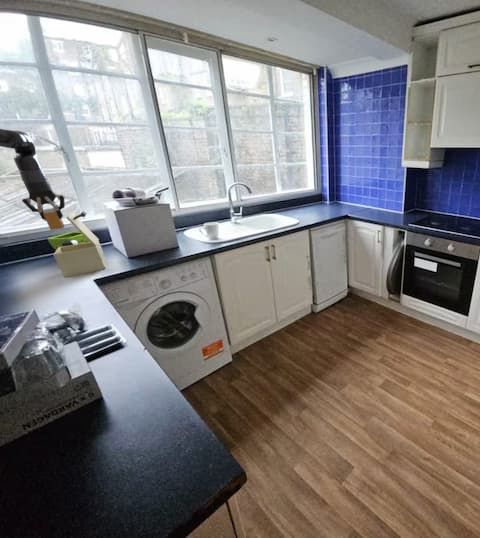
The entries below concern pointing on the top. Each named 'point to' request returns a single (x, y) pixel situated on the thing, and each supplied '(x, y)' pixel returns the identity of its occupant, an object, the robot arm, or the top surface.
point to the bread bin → (80, 259)
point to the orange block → (53, 219)
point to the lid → (82, 227)
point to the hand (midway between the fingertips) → (53, 219)
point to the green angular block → (67, 239)
